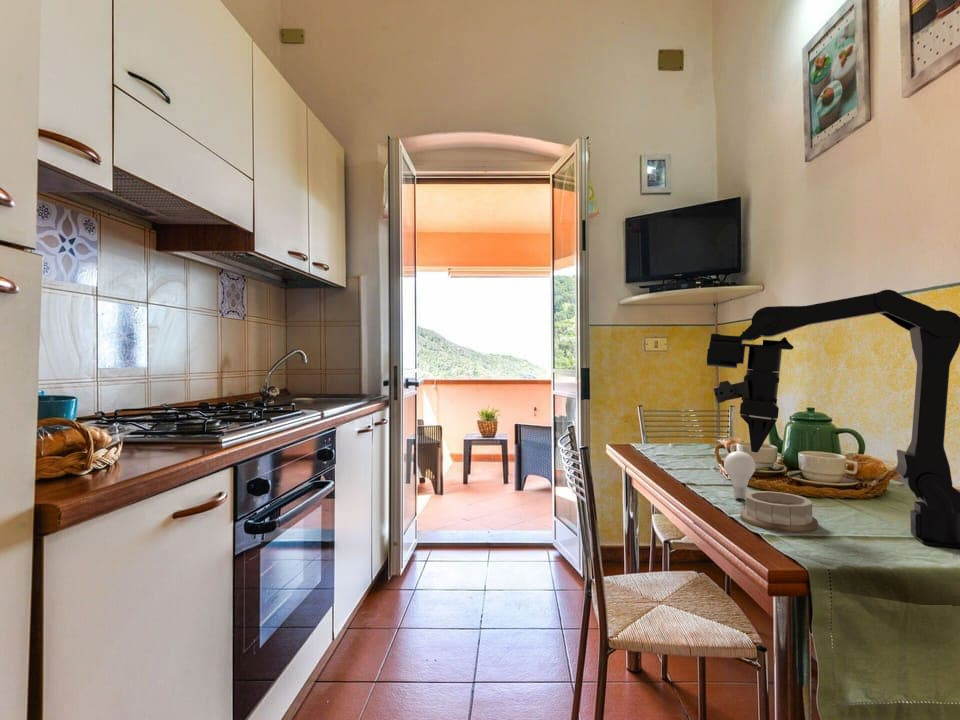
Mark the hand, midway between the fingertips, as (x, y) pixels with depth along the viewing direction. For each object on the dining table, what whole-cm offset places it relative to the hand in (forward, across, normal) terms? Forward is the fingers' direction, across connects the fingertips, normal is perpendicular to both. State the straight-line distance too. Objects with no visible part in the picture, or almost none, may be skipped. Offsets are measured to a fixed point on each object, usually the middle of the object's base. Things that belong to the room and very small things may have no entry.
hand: (754, 448), depth 100 cm
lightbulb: (+14, -15, -2) cm, 21 cm away
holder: (+14, 0, +5) cm, 14 cm away
